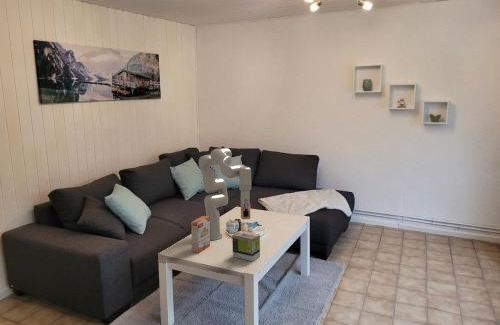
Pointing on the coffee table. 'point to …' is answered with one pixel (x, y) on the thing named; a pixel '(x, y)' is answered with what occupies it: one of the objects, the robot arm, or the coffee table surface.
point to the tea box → (246, 245)
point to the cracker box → (200, 234)
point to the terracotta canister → (242, 212)
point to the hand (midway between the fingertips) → (245, 214)
